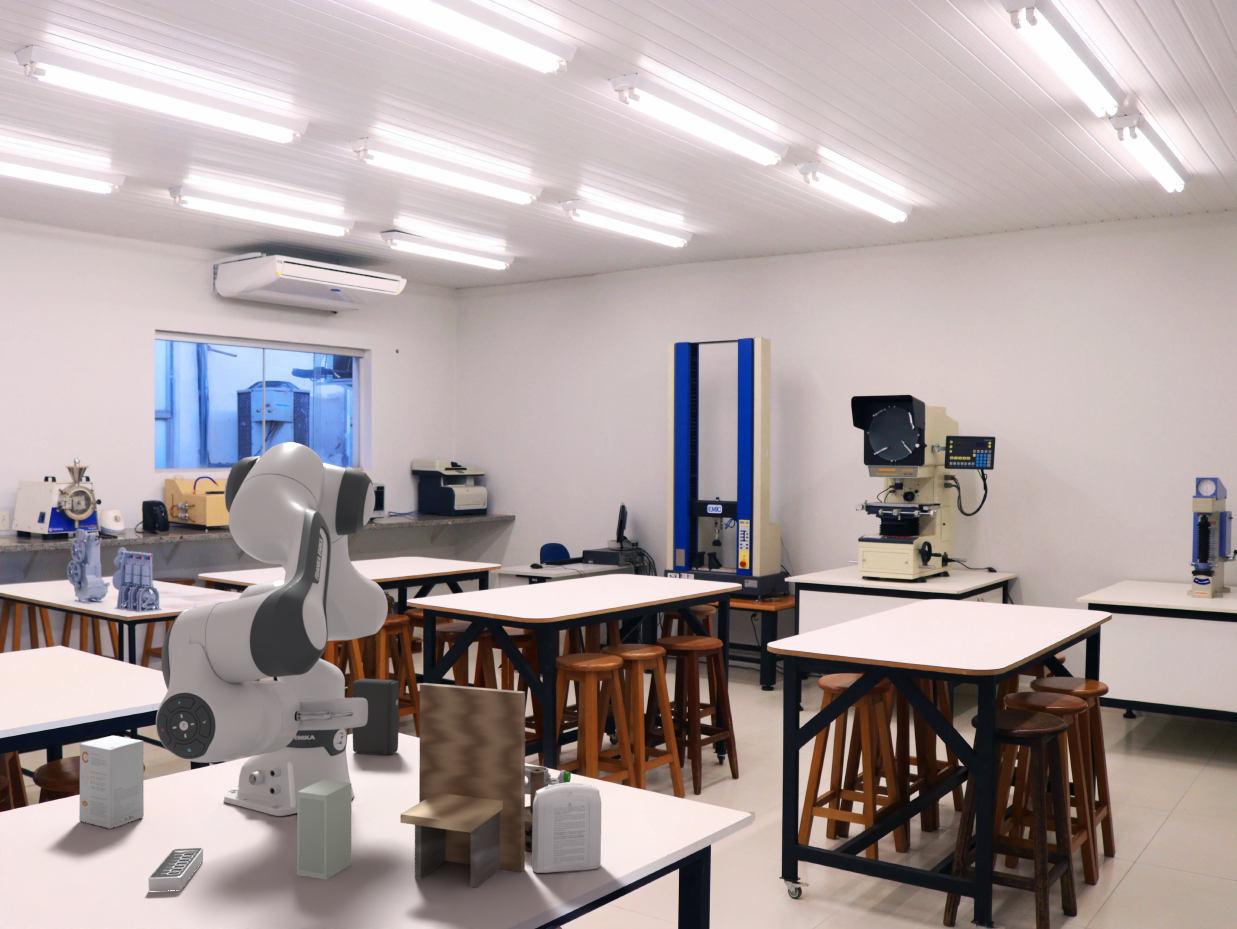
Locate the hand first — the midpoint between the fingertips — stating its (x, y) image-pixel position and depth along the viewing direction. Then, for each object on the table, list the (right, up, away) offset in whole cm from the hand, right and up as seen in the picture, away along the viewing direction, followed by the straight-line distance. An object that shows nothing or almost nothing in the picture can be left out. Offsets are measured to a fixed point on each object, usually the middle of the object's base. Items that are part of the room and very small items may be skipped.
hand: (316, 711), depth 135 cm
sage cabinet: (-2, -26, +10) cm, 28 cm away
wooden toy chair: (+18, -26, +8) cm, 32 cm away
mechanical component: (+28, -26, +26) cm, 46 cm away
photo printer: (+34, -26, +11) cm, 44 cm away
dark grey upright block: (-9, -26, +70) cm, 75 cm away
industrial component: (+29, -26, +18) cm, 43 cm away
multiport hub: (-22, -26, +8) cm, 35 cm away
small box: (-43, -26, +30) cm, 59 cm away
